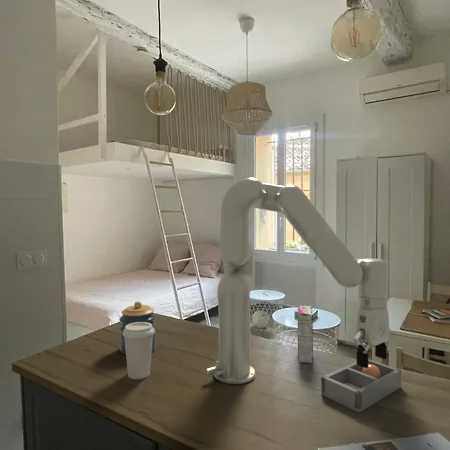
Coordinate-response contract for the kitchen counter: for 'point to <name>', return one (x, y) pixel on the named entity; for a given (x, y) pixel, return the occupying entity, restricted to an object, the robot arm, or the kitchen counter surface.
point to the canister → (137, 315)
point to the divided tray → (360, 385)
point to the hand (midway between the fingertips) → (371, 361)
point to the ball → (372, 371)
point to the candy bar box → (305, 334)
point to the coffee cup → (138, 348)
